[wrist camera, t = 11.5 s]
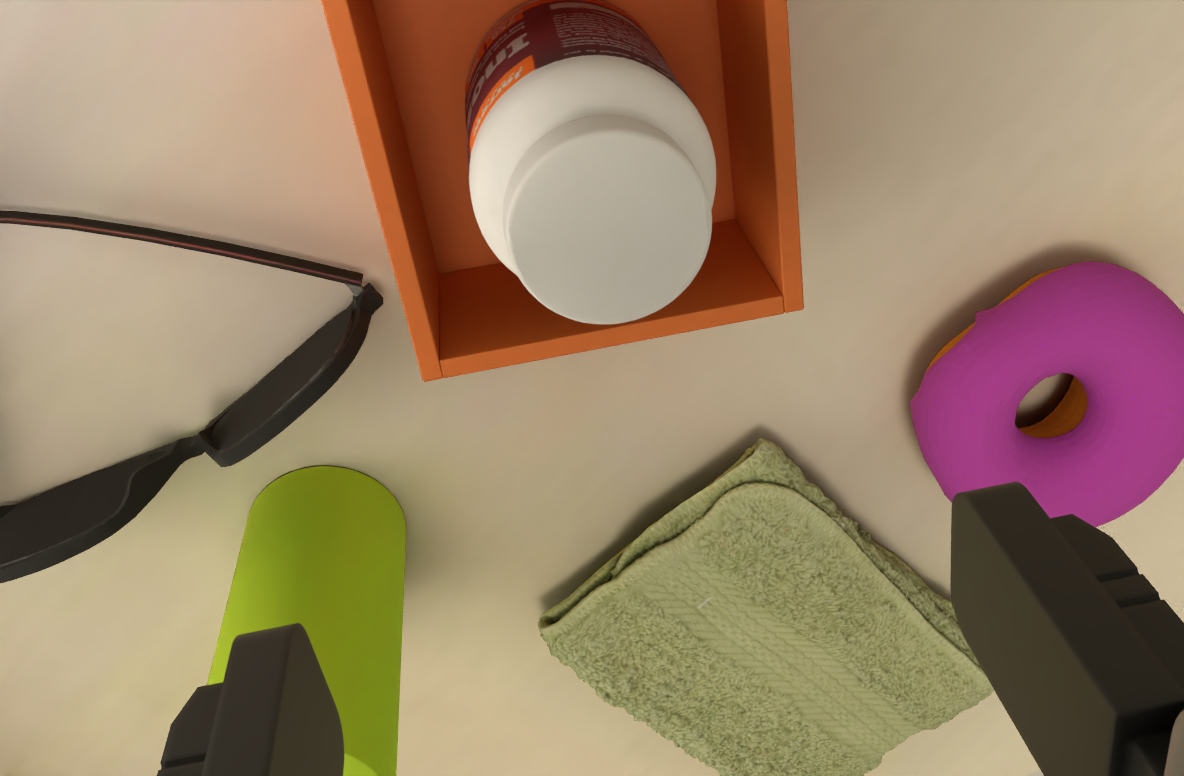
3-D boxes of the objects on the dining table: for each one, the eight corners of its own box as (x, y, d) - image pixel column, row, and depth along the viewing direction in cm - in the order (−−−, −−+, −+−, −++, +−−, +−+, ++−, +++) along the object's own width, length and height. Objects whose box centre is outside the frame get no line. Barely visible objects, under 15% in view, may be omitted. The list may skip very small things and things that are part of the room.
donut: (1095, 198, 39) (1169, 249, 35) (1203, 383, 43) (1279, 447, 39) (851, 372, 41) (895, 439, 37) (978, 530, 46) (1028, 604, 42)
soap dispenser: (409, 606, 44) (391, 1154, 27) (233, 573, 42) (93, 1139, 25) (451, 490, 42) (459, 1015, 24) (265, 450, 40) (133, 987, 23)
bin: (720, -133, 32) (781, -107, 26) (749, 224, 38) (804, 310, 32) (337, -65, 31) (314, -22, 26) (425, 285, 37) (422, 382, 32)
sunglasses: (106, -69, 31) (52, -38, 26) (406, 318, 38) (402, 392, 33) (-329, 237, 33) (-441, 309, 29) (26, 543, 40) (-22, 638, 36)
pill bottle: (479, -29, 32) (495, 67, 22) (683, 9, 33) (781, 117, 24) (449, 175, 35) (453, 336, 25) (638, 204, 36) (709, 367, 27)
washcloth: (753, 408, 41) (776, 456, 39) (1002, 635, 49) (1036, 688, 46) (511, 613, 45) (516, 670, 42) (778, 794, 53) (797, 852, 50)
